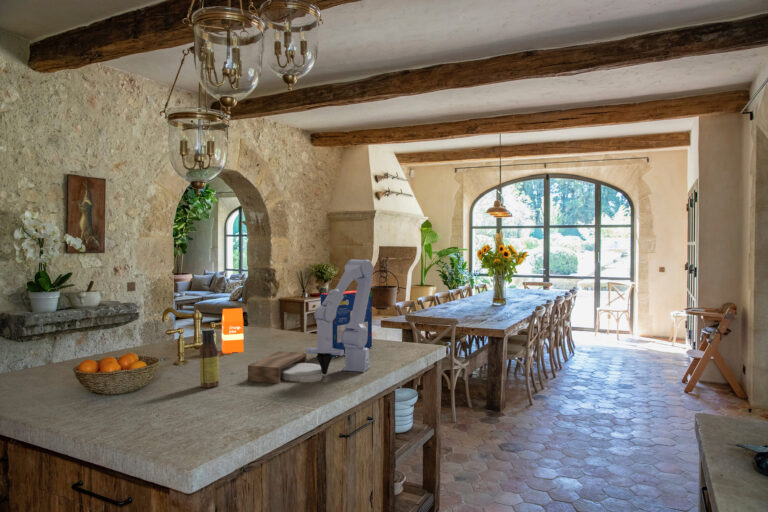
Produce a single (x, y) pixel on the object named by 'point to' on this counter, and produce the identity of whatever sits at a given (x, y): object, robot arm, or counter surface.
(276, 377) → the brown slab
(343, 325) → the pasta box
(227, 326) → the orange juice
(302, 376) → the lid
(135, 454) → the counter surface
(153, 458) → the counter surface
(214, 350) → the sauce bottle
